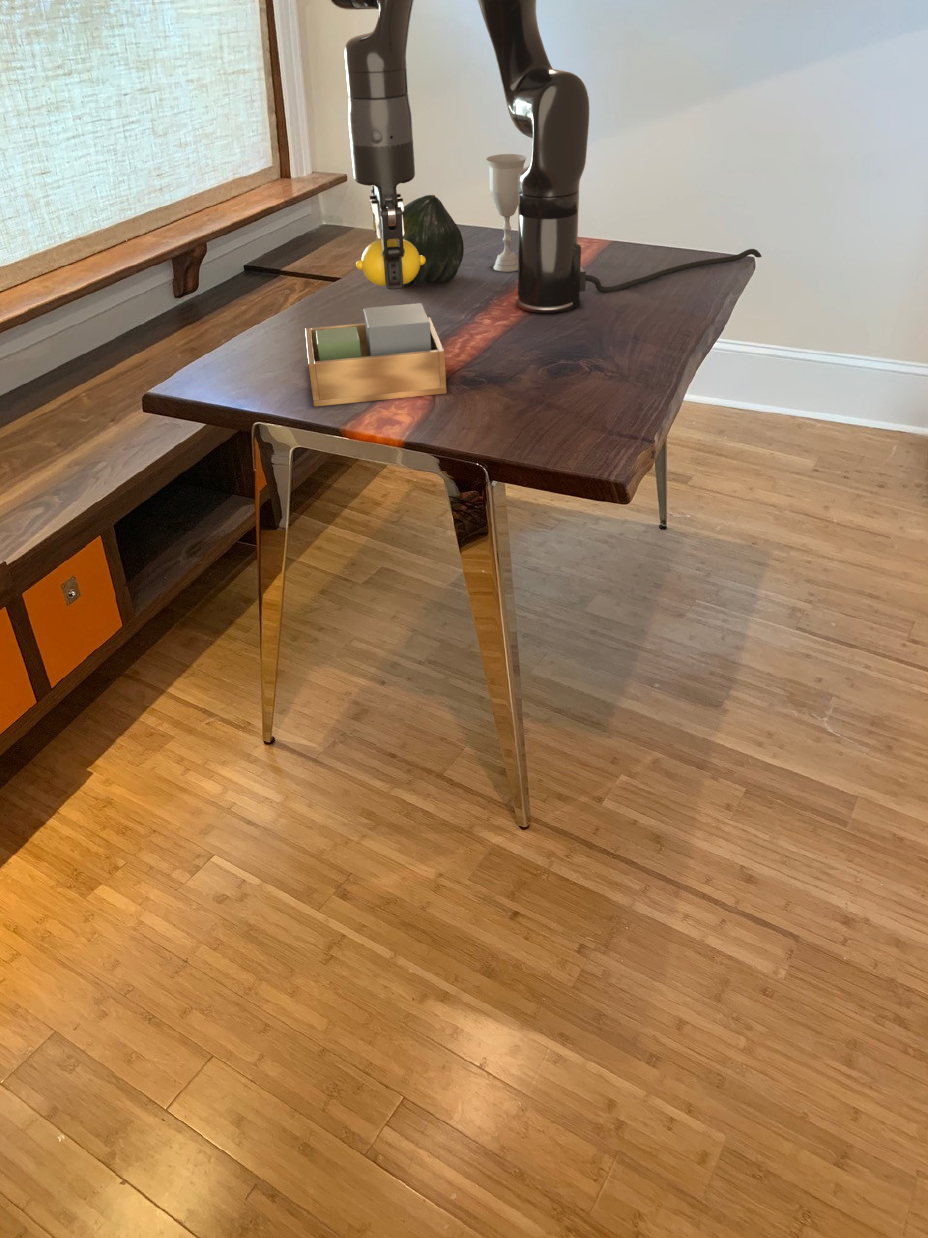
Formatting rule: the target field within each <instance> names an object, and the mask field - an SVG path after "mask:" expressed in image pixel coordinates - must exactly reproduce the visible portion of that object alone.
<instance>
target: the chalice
mask: <svg viewBox="0 0 928 1238" xmlns="http://www.w3.org/2000/svg"><path fill="white" fill-rule="evenodd" d="M526 160H527V157H526V156H525V155H523V154H516V153H503V154H502V153H501V154H494V155H490V156H488V157H486V162H487V164H488V166H489V169H488V170H489V171H488V172H489V192H490V195H491V198H492V201H493V204H494V206H495V208H496V210H497V212H498V215H499V216H501V217H503V221H504V223H503V226H502V230H503V232H504V235H503V238H502V239H501V240H502V241H503V244H504V247H503V248H504V249H503V250H502V252H500V253H498V255H497V257H496V260H495V262H494V265H493V270H495V271H498V272H506V273H507V272H508V273H509V272H515V271H518V254H516V252H512V250H511V247H510V245H511V242H512V237H511V235H510V233H511V230H512V226H511V223H510V221H511V220H510V219H511V217H512V216H514V215H515V214H516V211H517V210H518V177H519V173H520V171H521V170H522V169H524V168H525V166H524V165H525V162H526Z"/></svg>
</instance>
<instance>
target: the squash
mask: <svg viewBox="0 0 928 1238" xmlns="http://www.w3.org/2000/svg"><path fill="white" fill-rule="evenodd" d="M403 223H404V236H403V239H404V240H407V241H409V242H410V243H411V244H413V245H414V246H415V248H416V249H417V251H418V253H419V255H422V256H424V257H425V259H426V261H425V264H423V265H420V269H419V272H418V274H417V275H416V277H415V278H414V279H413V280H412V281H410V282H409V283H406V284H403V287H409V286H410V287H411V286H412V285H413V284H416V285H417V286H418V285H419V286H421V285H424V284H435V285H443V284H447V283H450V282H451V281H452V280H453V279H454V278H455V277H456V275H457V273H458V271H459V269H460V266H461V265H462V262H463V259H464V252H465V251H464V249H465V247H464V238H463V235H462V232H461V230H460V229H459V227H458V225H457V223H456V222H455V220H454V218H453V217H452V216H451V214H450V213H449V212H448V210H447V209H446V208H445V206H444V204H443V202H442V201H441V199H440V198H438V197H437V196H436V195H435V194H427V195H426V194H425V195H422V196H421V197H418V198H415V199H413V200H412V201H410V202H408V203H407V204H404V211H403Z"/></svg>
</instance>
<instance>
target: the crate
mask: <svg viewBox="0 0 928 1238" xmlns="http://www.w3.org/2000/svg"><path fill="white" fill-rule="evenodd" d="M427 317H428V316H427ZM428 320H429V322H430V337H431V351H421V352H410V353H400V354H389V355H379V356H368V350H367V340H366V329H365V322H363V323H362V322H361V323H351V324H340V325H329V326H319V327H308V328H304V330H305V332H304V333H305V343H306V354H307V362H308V363H307V365H308V371H309V379H310V385H311V386H310V387H311V393H312V394H311V395H312V400H313V406H314V408H315V407H325V406H334V405H344V404H345V405H346V404H354V403H355V404H356V403H364V402H365V403H366V402H374V401H385V400H393V399H404V398H405V399H406V398H414V397H424V396H433V395H443V394H447V374H446V354H445V353H446V352H445V349H444V347H443V345H442V342H441V340H440V337H439V334H438V333H437V330H436V328H435V326H434V323H433V320H432V318H431V317H430V316H429V317H428ZM347 327H357V332H358V336H359V341H360V350H361V357H358V358H347V359H337V360H326V361H320V360H319V352H318V345H317V336H316V330H325V329H336V328H347Z"/></svg>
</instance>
